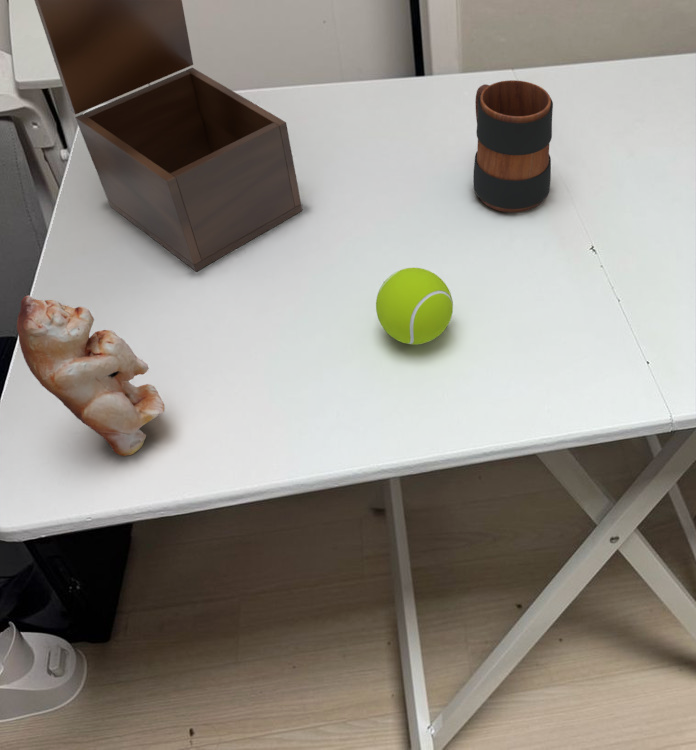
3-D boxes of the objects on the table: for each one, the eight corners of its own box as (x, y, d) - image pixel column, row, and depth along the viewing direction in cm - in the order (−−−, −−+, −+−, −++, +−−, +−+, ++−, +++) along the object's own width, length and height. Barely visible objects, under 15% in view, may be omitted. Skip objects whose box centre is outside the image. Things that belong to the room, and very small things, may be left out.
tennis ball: (468, 333, 79) (468, 278, 74) (412, 371, 76) (408, 316, 70) (419, 297, 82) (416, 242, 77) (364, 331, 79) (356, 276, 74)
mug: (509, 148, 100) (513, 56, 91) (563, 201, 93) (573, 107, 84) (446, 168, 97) (443, 74, 88) (497, 224, 90) (500, 129, 81)
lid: (164, -96, 76) (129, -120, 78) (20, -53, 69) (-15, -80, 70) (193, 64, 89) (163, 41, 91) (75, 114, 82) (45, 88, 84)
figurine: (180, 441, 70) (125, 313, 59) (87, 479, 67) (10, 351, 56) (159, 393, 73) (103, 263, 62) (69, 427, 70) (-6, 297, 59)
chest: (302, 210, 91) (286, 122, 83) (196, 271, 84) (167, 181, 76) (215, 154, 98) (192, 67, 90) (110, 206, 91) (74, 116, 82)
